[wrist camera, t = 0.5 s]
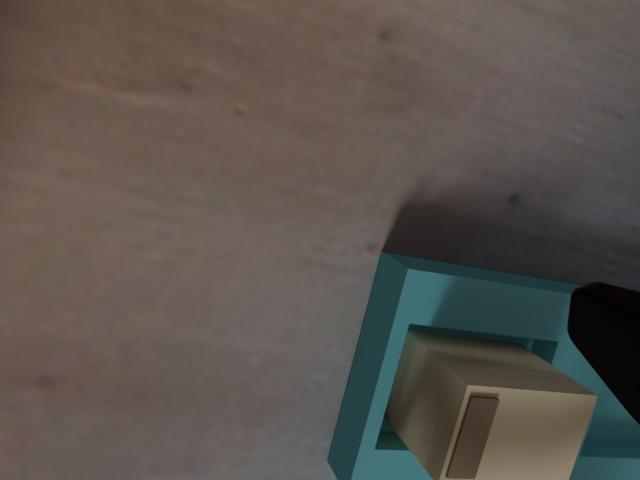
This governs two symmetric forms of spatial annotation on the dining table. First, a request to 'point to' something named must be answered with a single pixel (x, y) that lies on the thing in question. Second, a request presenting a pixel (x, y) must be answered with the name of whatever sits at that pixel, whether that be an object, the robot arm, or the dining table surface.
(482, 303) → the teal block holder tray
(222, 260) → the dining table surface
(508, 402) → the block
